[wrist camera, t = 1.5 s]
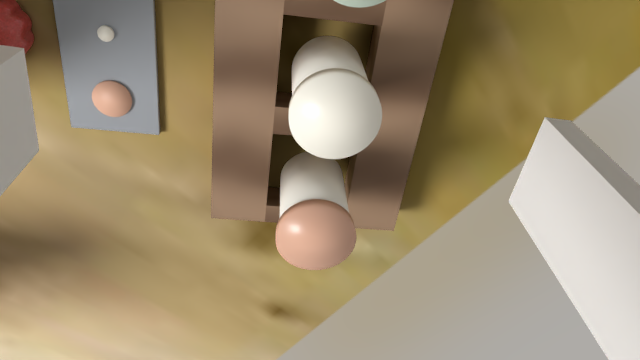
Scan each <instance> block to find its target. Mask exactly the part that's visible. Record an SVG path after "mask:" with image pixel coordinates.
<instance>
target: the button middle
mask: <svg viewBox="0 0 640 360" xmlns="http://www.w3.org/2000/svg"><path fill="white" fill-rule="evenodd" d="M381 122H382V108H381V104H380V101H379V98H378V95H377V93H376V91H375V89H374V87H373V86H372V85H371V83H370V82H369V81H368V79H367V76H366V73H365V70H364V67H363V64H362V62H361V59H360V56H359V54H358V52H357V51H356V49H355V48H354V47H353V46H352V45H351V44H350V43H349V42H347V41H346V40H344V39H342V38H339V37H335V36H320V37H317V38H314V39H312V40H310V41H308V42H307V43H305V44H304V45H303V46H302V47H301V48H300V49H299V50H298V52H297V53H296V55H295V57H294V60H293V63H292V97H291V100H290V103H289V127H290V131H291V133H292V135H293V137H294V139H295V140H296V142H297V143H298V144H299V145H300V146H301V147H302V148H303V149H304V150H306V151H307V152H309V153H310V154H312V155H315V156H317V157H321V158H326V159H341V158H346V157H350V156H352V155H355V154H357V153H359V152H360V151H362V150H363V149H365V148H366V147H367V146H368V145H369V144H370V143H371V142H372V141H373V140H374V138H375V137H376V135H377V134H378V131H379V129H380V126H381Z"/></svg>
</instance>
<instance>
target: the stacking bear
mask: <svg viewBox="0 0 640 360" xmlns="http://www.w3.org/2000/svg"><path fill="white" fill-rule="evenodd" d="M31 27H32V23H31V20H30V18H29V16H28V15H27V14H26V13H25V12H24V11H22V9H21V8H20V6H19V4H18V3H17V2H16V1H15V0H0V45H4V46H12V47H19V48H24V52H25V54H26V53H27V51H28V50H29V49H30V47H31V46H32V44H33V41H34V35H33V33H32V31H31Z"/></svg>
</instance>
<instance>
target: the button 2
mask: <svg viewBox="0 0 640 360" xmlns="http://www.w3.org/2000/svg"><path fill="white" fill-rule="evenodd" d="M334 1H335V2H337V3H339V4H342V5H345V6H349V7H358V8H362V7H370V6H374V5H377V4H380V3H382V2H384V1H386V0H334Z"/></svg>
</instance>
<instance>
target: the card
mask: <svg viewBox="0 0 640 360" xmlns="http://www.w3.org/2000/svg"><path fill="white" fill-rule="evenodd" d="M53 5H54V12H55V19H56V25H57V32H58V39H59V46H60V53H61V60H62V66H63V73H64V80H65V87H66V94H67V100H68V107H69V114H70V121H71V127H75V128H87V129H98V130H109V131H121V132H132V133H144V134H155V135H159V134H160V112H159V89H158V66H157V43H156V19H155V0H53Z"/></svg>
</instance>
